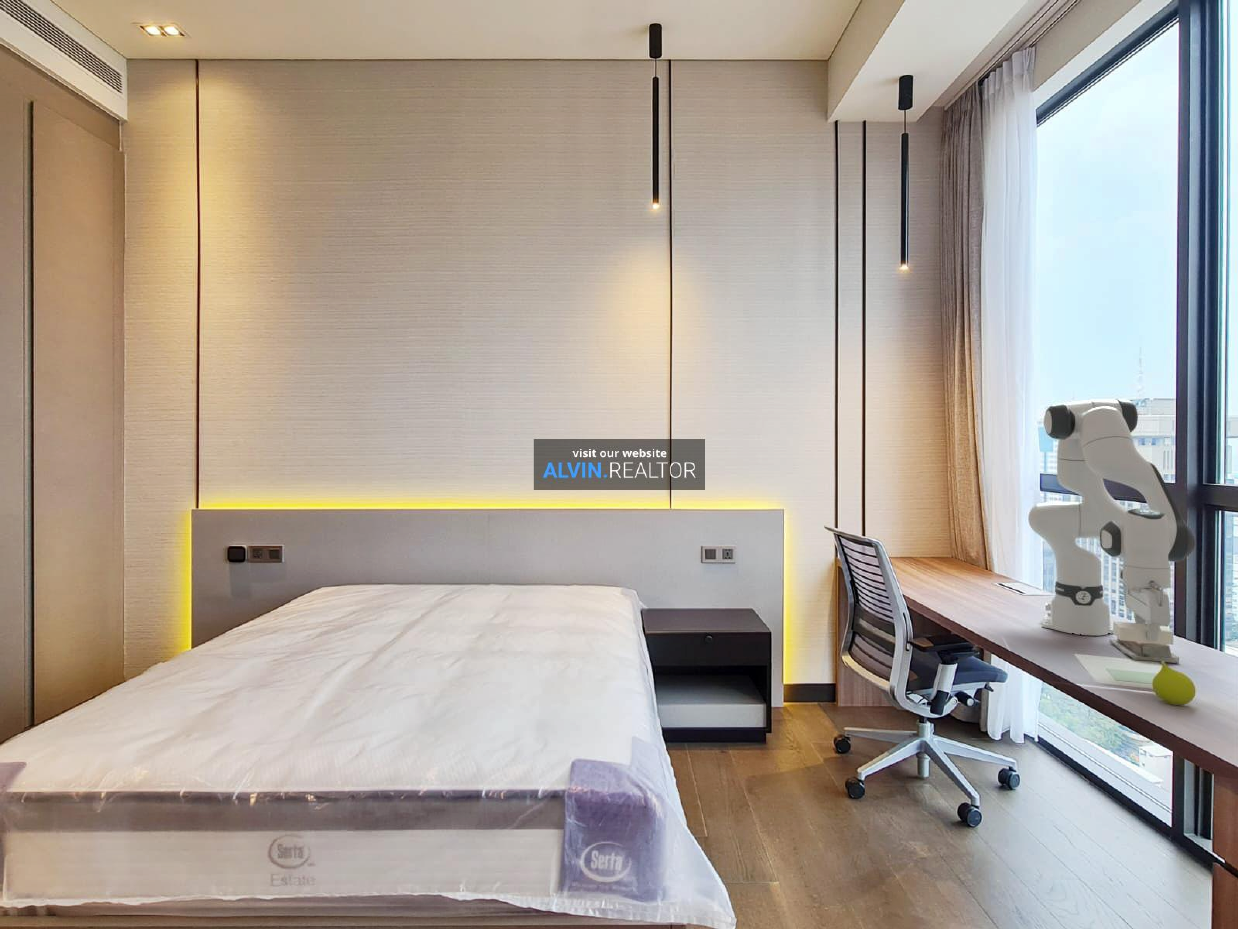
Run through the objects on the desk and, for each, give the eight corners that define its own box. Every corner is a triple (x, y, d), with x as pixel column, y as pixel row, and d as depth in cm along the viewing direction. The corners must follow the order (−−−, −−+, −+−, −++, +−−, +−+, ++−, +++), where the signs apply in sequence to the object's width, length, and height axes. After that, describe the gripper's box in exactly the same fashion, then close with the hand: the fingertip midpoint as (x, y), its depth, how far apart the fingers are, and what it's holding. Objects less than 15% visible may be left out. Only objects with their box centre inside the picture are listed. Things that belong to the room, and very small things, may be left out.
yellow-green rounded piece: (1145, 697, 146) (1144, 652, 146) (1181, 698, 145) (1181, 653, 145) (1165, 709, 139) (1165, 662, 139) (1203, 711, 138) (1203, 663, 138)
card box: (1113, 621, 161) (1164, 625, 157) (1113, 633, 162) (1164, 638, 157) (1120, 627, 156) (1173, 631, 152) (1120, 640, 156) (1173, 645, 152)
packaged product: (1180, 645, 166) (1132, 641, 170) (1180, 664, 166) (1133, 660, 170) (1151, 628, 183) (1108, 626, 187) (1151, 646, 183) (1108, 643, 186)
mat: (1073, 655, 176) (1073, 653, 176) (1157, 663, 169) (1157, 661, 169) (1096, 684, 154) (1096, 682, 154) (1194, 695, 147) (1194, 692, 147)
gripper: (1179, 587, 145) (1179, 649, 146) (1148, 571, 164) (1148, 627, 164) (1143, 585, 148) (1144, 646, 148) (1117, 570, 167) (1118, 624, 167)
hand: (1146, 636), depth 156 cm, fingers closed on card box, 6 cm apart
